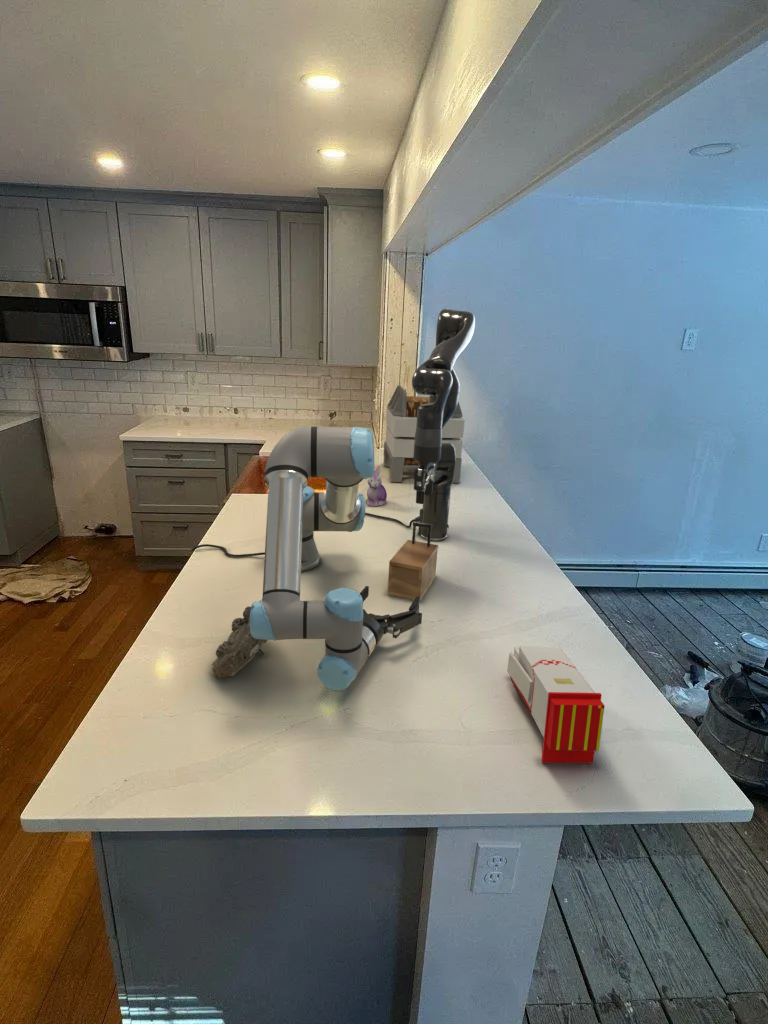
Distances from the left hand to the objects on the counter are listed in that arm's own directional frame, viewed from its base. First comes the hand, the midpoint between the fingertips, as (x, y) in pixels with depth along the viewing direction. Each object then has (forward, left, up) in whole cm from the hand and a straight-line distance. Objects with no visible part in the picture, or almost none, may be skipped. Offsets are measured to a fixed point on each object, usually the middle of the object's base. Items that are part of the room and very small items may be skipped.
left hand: (392, 595), depth 144 cm
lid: (0, +19, +3) cm, 19 cm away
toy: (+40, -23, -6) cm, 47 cm away
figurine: (-35, +82, -6) cm, 89 cm away
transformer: (-31, +134, -6) cm, 138 cm away
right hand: (0, +25, +18) cm, 31 cm away
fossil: (-25, -29, -6) cm, 38 cm away
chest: (0, +19, -6) cm, 20 cm away
